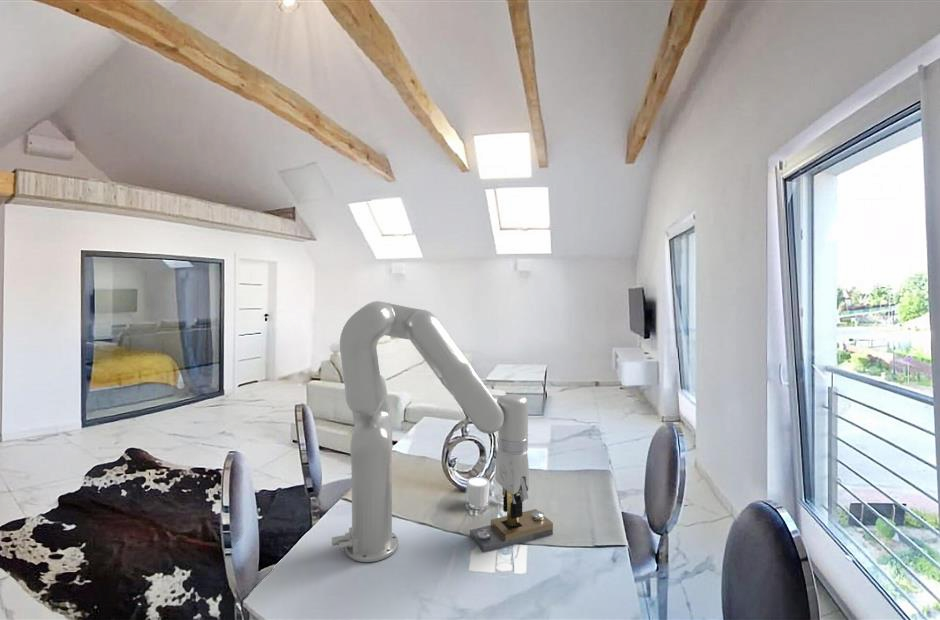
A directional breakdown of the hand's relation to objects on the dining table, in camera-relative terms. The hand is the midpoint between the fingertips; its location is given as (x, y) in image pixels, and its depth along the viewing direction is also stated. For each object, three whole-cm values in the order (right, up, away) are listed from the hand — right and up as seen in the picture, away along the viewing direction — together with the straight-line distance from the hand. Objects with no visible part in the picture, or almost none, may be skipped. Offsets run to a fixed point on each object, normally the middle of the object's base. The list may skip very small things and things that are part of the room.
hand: (512, 513), depth 115 cm
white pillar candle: (-9, -5, +16) cm, 19 cm away
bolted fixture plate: (0, -6, 0) cm, 6 cm away
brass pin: (0, -3, 0) cm, 3 cm away
